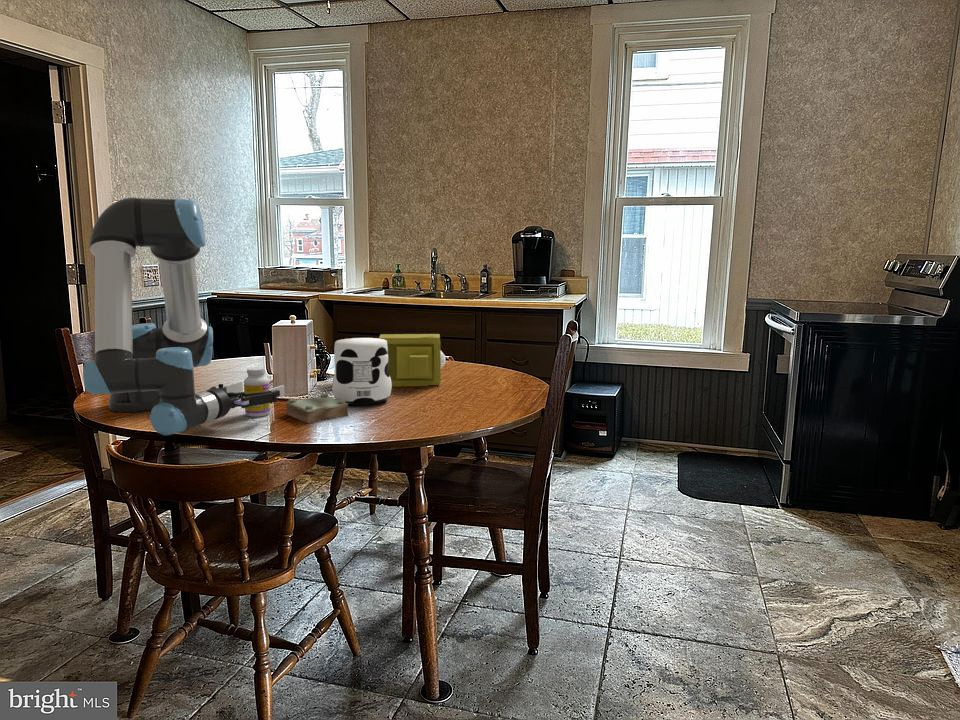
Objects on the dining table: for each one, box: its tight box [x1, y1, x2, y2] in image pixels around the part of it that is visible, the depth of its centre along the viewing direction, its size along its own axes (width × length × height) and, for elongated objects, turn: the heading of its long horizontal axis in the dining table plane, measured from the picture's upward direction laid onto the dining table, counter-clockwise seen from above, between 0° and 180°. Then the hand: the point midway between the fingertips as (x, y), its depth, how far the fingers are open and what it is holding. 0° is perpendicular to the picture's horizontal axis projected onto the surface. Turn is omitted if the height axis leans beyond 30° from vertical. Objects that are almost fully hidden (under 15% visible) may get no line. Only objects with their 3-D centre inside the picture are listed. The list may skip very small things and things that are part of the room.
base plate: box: [286, 393, 349, 424], centre depth 185 cm, size 12×12×4 cm
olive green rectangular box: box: [378, 333, 446, 387], centre depth 222 cm, size 35×16×16 cm
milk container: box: [331, 337, 393, 405], centre depth 200 cm, size 17×17×18 cm
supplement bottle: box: [243, 366, 272, 418], centre depth 185 cm, size 7×7×13 cm
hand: (262, 388), depth 187 cm, fingers open, 13 cm apart
